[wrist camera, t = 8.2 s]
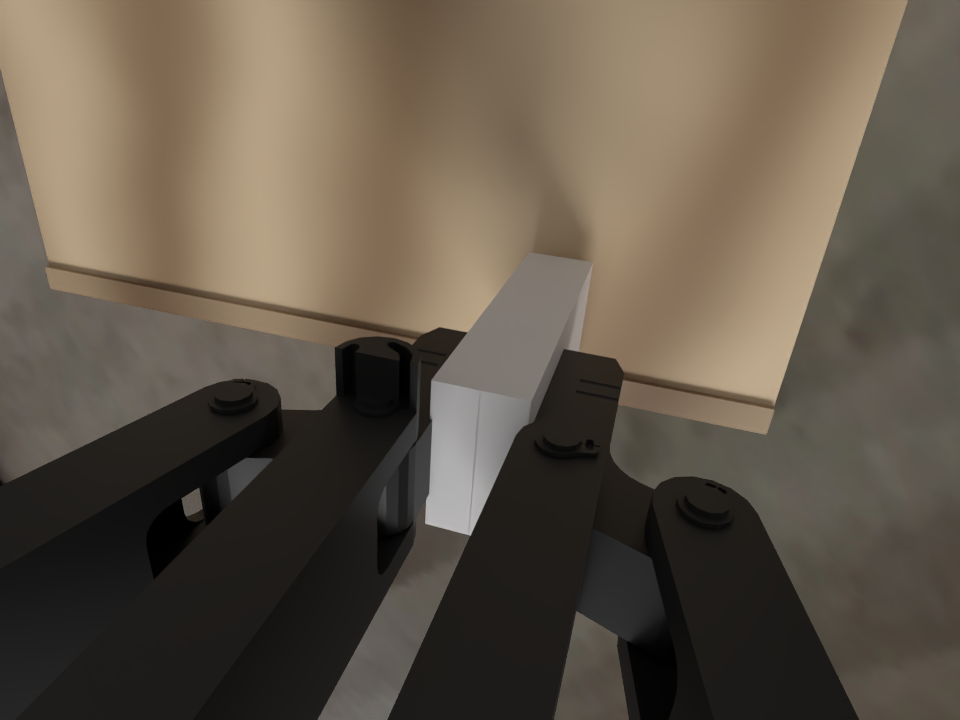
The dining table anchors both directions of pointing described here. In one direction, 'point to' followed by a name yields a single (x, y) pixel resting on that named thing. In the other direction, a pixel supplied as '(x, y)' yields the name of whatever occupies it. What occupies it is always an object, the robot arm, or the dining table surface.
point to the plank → (456, 166)
